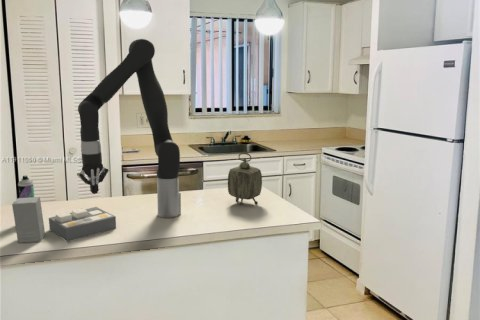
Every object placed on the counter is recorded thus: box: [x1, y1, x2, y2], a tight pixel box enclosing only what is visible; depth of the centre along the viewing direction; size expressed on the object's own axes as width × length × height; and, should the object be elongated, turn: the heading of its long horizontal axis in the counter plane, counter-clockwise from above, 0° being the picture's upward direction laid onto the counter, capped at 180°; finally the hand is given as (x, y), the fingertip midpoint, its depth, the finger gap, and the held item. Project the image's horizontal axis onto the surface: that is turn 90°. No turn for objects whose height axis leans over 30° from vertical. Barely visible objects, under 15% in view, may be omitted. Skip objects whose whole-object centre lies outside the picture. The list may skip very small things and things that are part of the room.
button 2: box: [88, 210, 103, 215], centre depth 180 cm, size 4×4×3 cm
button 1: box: [55, 211, 72, 223], centre depth 170 cm, size 4×4×3 cm
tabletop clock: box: [227, 152, 263, 206], centre depth 206 cm, size 14×9×25 cm, turn 58°
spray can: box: [17, 175, 35, 198], centre depth 178 cm, size 6×6×20 cm
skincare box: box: [11, 196, 46, 244], centre depth 162 cm, size 8×7×16 cm
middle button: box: [71, 208, 88, 219], centre depth 175 cm, size 4×4×3 cm
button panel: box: [48, 206, 117, 242], centre depth 174 cm, size 20×16×5 cm
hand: (94, 193), depth 178 cm, fingers closed
